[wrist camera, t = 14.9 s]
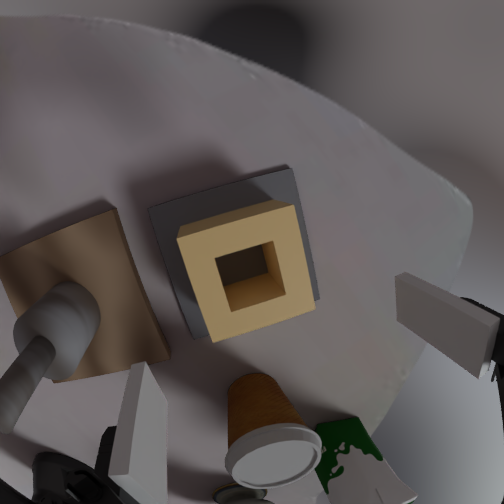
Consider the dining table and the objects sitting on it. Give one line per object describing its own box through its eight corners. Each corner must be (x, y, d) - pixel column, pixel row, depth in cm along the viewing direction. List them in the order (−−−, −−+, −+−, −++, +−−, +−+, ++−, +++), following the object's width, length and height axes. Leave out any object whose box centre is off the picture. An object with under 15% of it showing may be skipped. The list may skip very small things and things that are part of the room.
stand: (57, 376, 28) (6, 485, 11) (0, 256, 24) (-108, 320, 7) (171, 351, 30) (164, 495, 13) (116, 208, 26) (8, 253, 8)
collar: (208, 312, 29) (212, 342, 23) (180, 226, 27) (176, 238, 21) (293, 285, 30) (315, 309, 24) (273, 199, 28) (293, 204, 22)
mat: (193, 337, 30) (193, 339, 30) (148, 208, 26) (147, 208, 26) (318, 297, 32) (319, 299, 31) (290, 168, 28) (292, 168, 27)
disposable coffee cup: (203, 374, 31) (212, 455, 20) (283, 351, 33) (322, 422, 21) (226, 426, 34) (241, 498, 23) (295, 405, 35) (328, 472, 24)
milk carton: (348, 446, 40) (400, 530, 21) (299, 455, 38) (343, 553, 19) (364, 411, 38) (432, 501, 19) (312, 420, 37) (371, 529, 17)
